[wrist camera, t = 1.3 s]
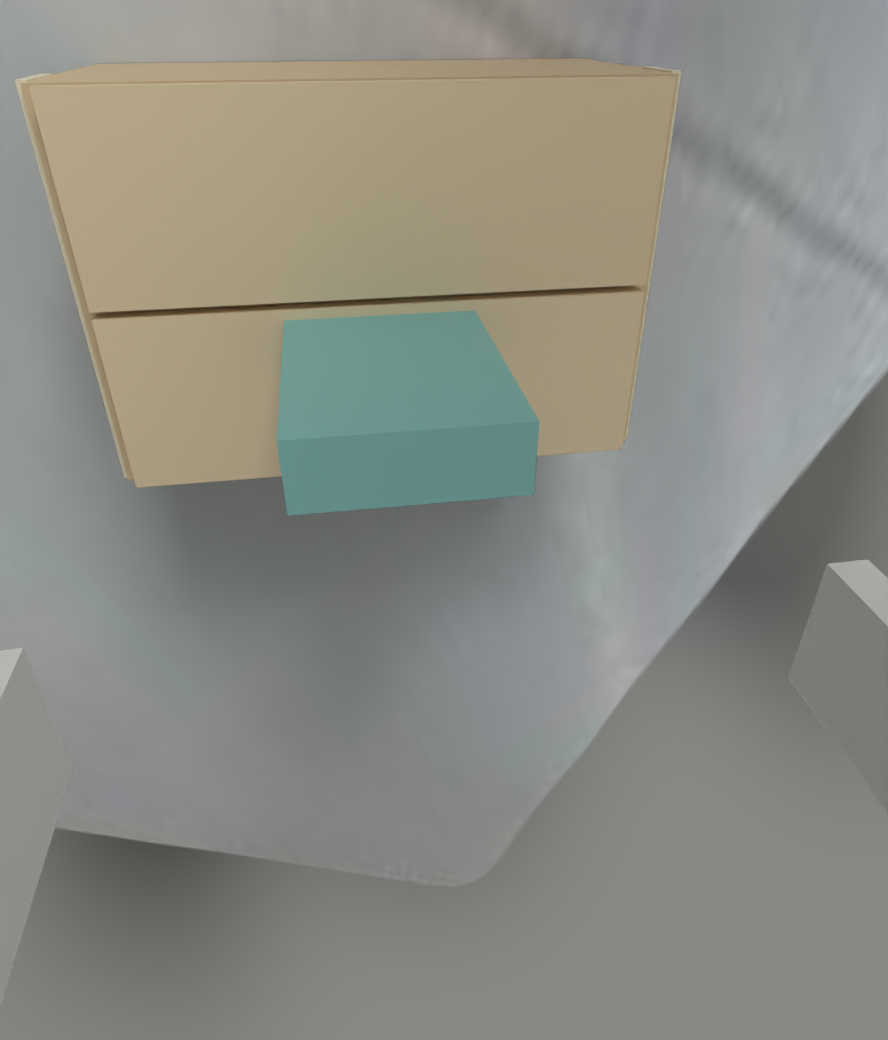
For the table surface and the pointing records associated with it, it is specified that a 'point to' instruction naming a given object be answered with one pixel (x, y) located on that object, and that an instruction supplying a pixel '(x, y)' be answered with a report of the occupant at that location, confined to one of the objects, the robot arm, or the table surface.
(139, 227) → the carton
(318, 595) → the table surface
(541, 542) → the table surface
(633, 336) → the flap
